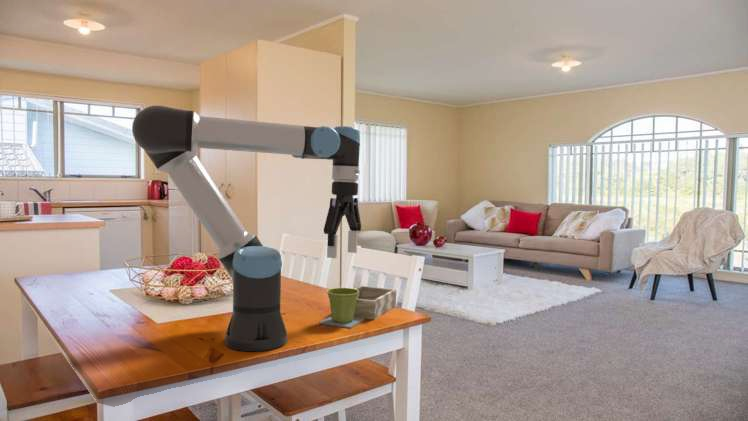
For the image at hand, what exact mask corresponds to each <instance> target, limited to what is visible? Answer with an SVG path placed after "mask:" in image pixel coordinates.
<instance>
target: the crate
mask: <svg viewBox="0 0 748 421" xmlns="http://www.w3.org/2000/svg"><path fill="white" fill-rule="evenodd" d="M353 289H356V290H358V291H359V293H358V295H357V298H356V303H355V309H354V316H353V317H357V318H366V319H367V320H373V319H375V320H376V319H378V318H379V316H380V315H381V316H383V315H384V314H386V313H387V312H389V311H390V309H391V310H393V309H394V308H396V306H397V289H394V288H383V287H374V286H373V287H372V286H365V285H359V286H357V287H354V288H353ZM388 310H389V311H388ZM385 312H386V313H385ZM383 313H384V314H383ZM382 314H383V315H382ZM381 316H380V317H381ZM377 317H378V318H377ZM366 319H365V320H366Z"/></svg>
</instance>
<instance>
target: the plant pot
mask: <svg viewBox="0 0 748 421" xmlns="http://www.w3.org/2000/svg"><path fill="white" fill-rule="evenodd" d="M358 293H359V291H358V290H356V289H354V288H350V287H348V288H347V287H336V288H335V287H334V288H330V289H327V290H326V294H327V296H328V299H329V308H330V313H331V316H332V321H334V322H336V321H337V322H339V323H348V322H350V321H353V316H354V309H355V303H356V298H357V295H358ZM331 316H330V317H331Z"/></svg>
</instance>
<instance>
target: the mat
mask: <svg viewBox="0 0 748 421" xmlns="http://www.w3.org/2000/svg"><path fill="white" fill-rule="evenodd" d="M365 320H366V319H365V318H358V317H353V321H350V322H348V323H339V322H337V321H336V322H334V321H332V316H329V317H327V318H325V319H323V320H321V321H320V322H318V324H319V325H324V326H332V327H337V328H338V327H340V328H346V329H352V328H354V327H355V326H357V325H359V324H361V323H363V321H365Z"/></svg>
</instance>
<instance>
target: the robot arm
mask: <svg viewBox="0 0 748 421" xmlns="http://www.w3.org/2000/svg"><path fill="white" fill-rule="evenodd" d="M131 131H132V135H133V139H134V140H135V142H136V143H137V145H138V146H139V147H140V148H141V149H143V151H144V152H145V154H146V155H147V156H148V157H149V159H150V161H151V162H152V163H153V165H154V166H155V169H157V170H158V171H159V172H164V173H166V174H167V175H168V176H169V178H170V180H172V182H173V183H174V185H175V187H176V188H177V190H179V192H180V193H181V196H182V197H183V198H184V200H185V202H187V204H188V206H189V207H190V208H191V210H192V211H193V213H194V215H195V216H196V217H197V219H198V220H199V222H200V223H201V225H202V226H203V228H204V229H205V230H206V232H207V233H208V235H209V237H210V238H211V239H212V241H213V242H214V244H215V245H216V247H217V248H218V253H217V259H218V260H219V262H220V263H221V265H222V266H223V267H224V269H225V270H226V272H227V274H229V276H230V277H231V280H232V314H231V317H230V319H229V320H230V321H229V323H228V326H227V329H226V332H225V336H224V337H225V339H224V341H225V342H224V343H225V346H226V347H227V348H229V349H232V350H235V351H243V352H262V351H270V350H274V349H278V348H279V347H283V346H284V345H286V344H287V343H288V331H287V329H286V325H285V323H284V322H285V321H284V318H283V316H282V311H281V299H282V298H281V296H282V294H281V290H282V289H281V287H282V286H281V285H282V283H281V282H282V266H283V265H282V264H283V263H282V255H281V253H280V251H279V250H277V249H276V248H274V247H269V246H264V245H263V244H262V242H261V241H260V239H259V238H258V236H257V235H256V233H254V232H249V231H247V230H246V228H245V226H244V225H243V223H242V222H241V220H240V219H239V217H238V216H237V215H236V213H235V212H234V210H233V209H232V207H231V205H230V204H229V203H228V201H227V200H226V198H225V196H224V194H223V193H222V192H221V190H220V189H219V188H218V186H217V185H216V182H215V181H214V179H213V177H212V176H211V175H210V174H209V172H208V171H207V168H205V167H204V164H203V163H202V161H201V160H200V158H199V157H198V150H199V149H206V150H207V149H208V150H222V151H223V150H224V151H234V152H235V151H236V152H237V151H238V152H247V153H248V152H250V153H260V154H261V153H262V154H263V153H264V154H276V155H289V156H292V157H293V158H296V159H302V160H307V159H309V160H328V161H331V160H332V170H331V171H332V172H331V179H332V180H333V181H332V182H331V194H332V195H335V196H336V197H335V198H330V200H329V208H328V211H327V214H326V219H325V223H324V226H323V234H325V235H327V248H326V258H330V259H337V258H338V242H339V241H338V239H339V238H338V237H339V235H338V234H337V232H338V230H339V227H340V224H341V222H342V218H343V217H344V216H345V219H346V221H347V225H348V228H349V230H348V233H347V234H348V235H347V253H352V254H357V253H358V234H359V233H358V232H361V231H362V223H361V217H360V211H359V210H360V209H359V198H358V197H354V196H358V195H359V194H358V193H359V183H358V182H357V181H359V174H360V172H361V171H360V170H359V169H360V168H359V167H360V166H359V163H360V147H361V142H360V141H361V140H360V139H361V138H360V130H359V128H357V127H356V126H355V127H354V126H344V125H343V126H339V125H338V126H335V127H334V128H333V127H330V126H325V125H322V126H307V125H306V126H305V125H297V124H287V123H277V122H266V121H265V122H264V121H258V120H257V121H255V120H244V119H237V118H236V119H234V118H225V117H215V116H214V117H213V116H203V115H199V114H198V113H197V112H196V111H195V110H188V109H187V110H186V109H179V108H173V107H169V106H165V105H151V106H147V107H145V108H143V109H141V110H140V111H139V112H138V113H137V114H136V116H135V117H134V119H133V121H132V127H131Z"/></svg>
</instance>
